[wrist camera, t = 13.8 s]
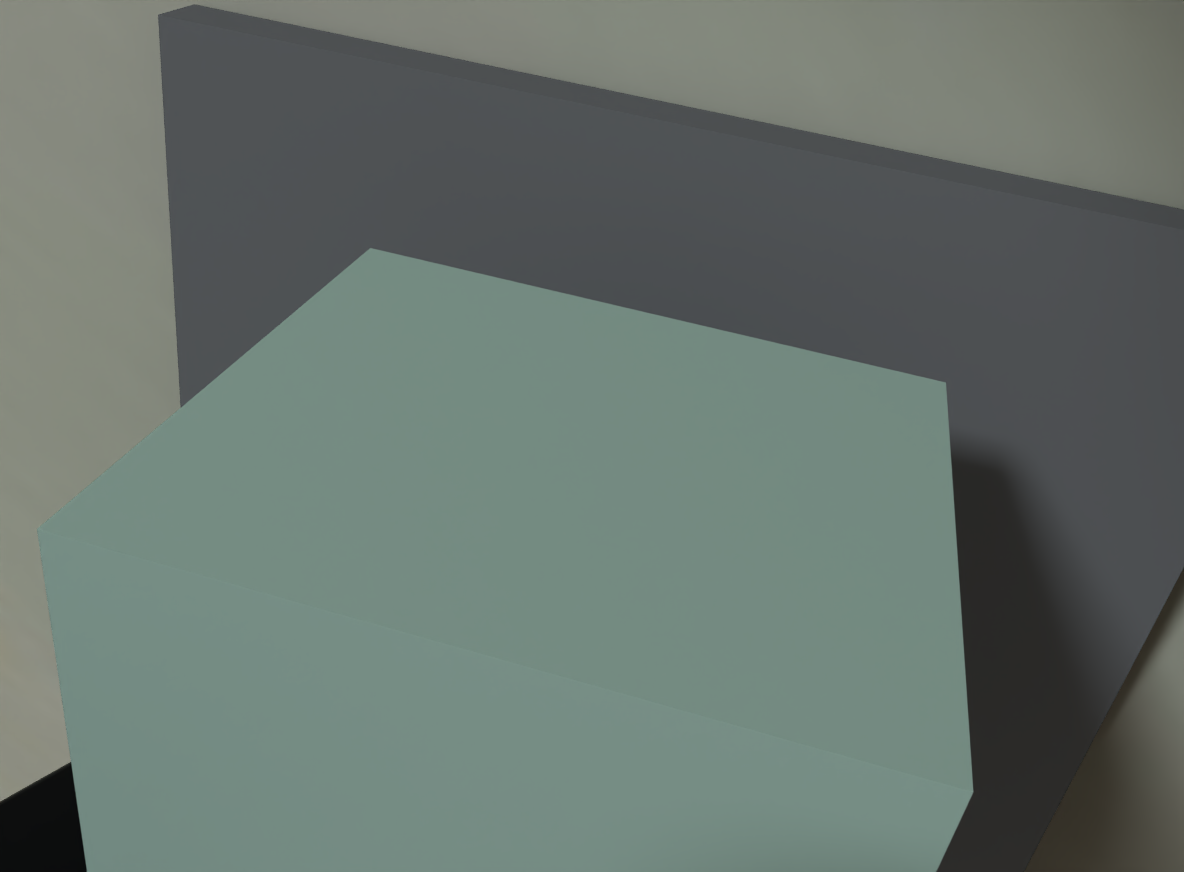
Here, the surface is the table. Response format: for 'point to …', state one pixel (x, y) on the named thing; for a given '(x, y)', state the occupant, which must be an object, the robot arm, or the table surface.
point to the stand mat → (746, 313)
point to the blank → (517, 600)
